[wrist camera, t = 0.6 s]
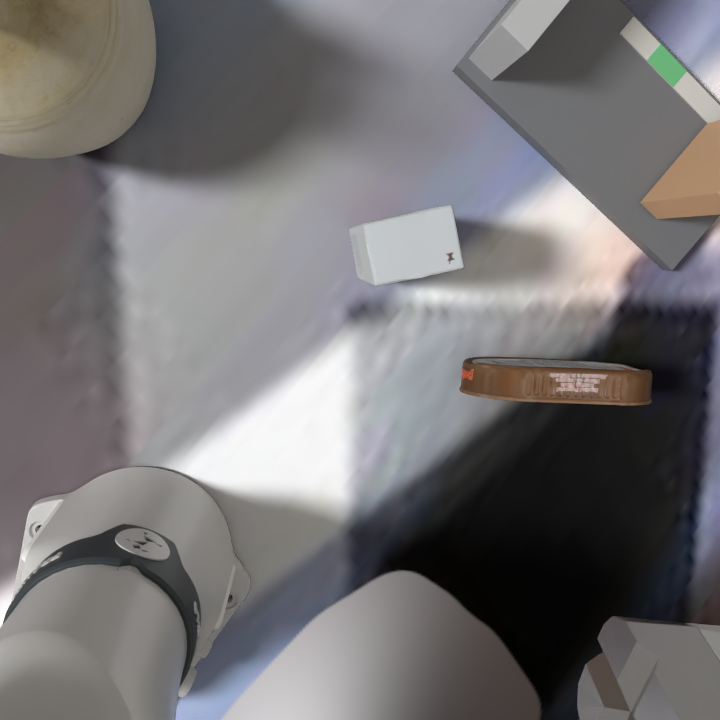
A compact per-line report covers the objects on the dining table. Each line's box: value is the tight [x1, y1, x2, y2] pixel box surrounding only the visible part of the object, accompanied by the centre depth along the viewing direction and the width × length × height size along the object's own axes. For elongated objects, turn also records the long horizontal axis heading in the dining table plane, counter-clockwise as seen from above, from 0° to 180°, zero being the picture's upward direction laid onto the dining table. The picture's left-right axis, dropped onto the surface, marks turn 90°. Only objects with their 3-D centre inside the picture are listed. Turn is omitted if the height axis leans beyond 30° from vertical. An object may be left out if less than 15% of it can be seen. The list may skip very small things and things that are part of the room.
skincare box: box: [349, 205, 464, 286], centre depth 49 cm, size 6×4×12 cm
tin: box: [459, 357, 652, 405], centre depth 54 cm, size 15×3×8 cm, turn 86°
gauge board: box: [453, 0, 720, 270], centre depth 50 cm, size 24×12×10 cm, turn 50°
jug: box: [0, 0, 156, 159], centre depth 38 cm, size 15×16×25 cm
